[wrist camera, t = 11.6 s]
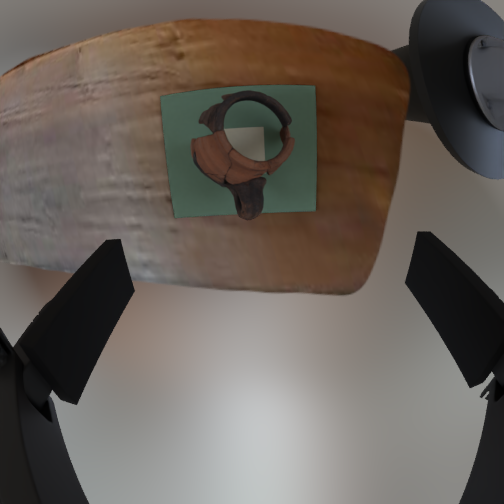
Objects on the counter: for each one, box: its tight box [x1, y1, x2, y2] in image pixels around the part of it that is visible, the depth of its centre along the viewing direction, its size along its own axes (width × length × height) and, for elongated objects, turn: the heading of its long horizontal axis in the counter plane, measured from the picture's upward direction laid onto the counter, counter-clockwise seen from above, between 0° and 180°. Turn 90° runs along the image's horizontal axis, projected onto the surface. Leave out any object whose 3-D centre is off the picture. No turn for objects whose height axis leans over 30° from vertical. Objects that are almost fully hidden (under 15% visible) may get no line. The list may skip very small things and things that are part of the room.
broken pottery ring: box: [190, 90, 295, 220], centre depth 25 cm, size 12×9×8 cm
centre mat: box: [160, 85, 317, 218], centre depth 27 cm, size 16×14×1 cm
